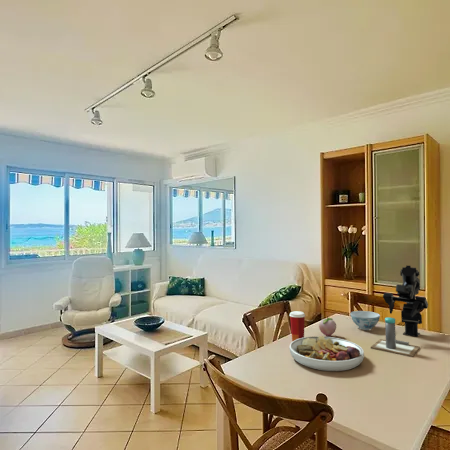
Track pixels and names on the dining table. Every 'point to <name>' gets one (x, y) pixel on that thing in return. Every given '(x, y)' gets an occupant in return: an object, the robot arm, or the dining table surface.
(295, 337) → the paper cup
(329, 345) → the bowl
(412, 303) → the robot arm
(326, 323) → the decorative fruit
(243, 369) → the dining table surface
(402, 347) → the clipboard
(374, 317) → the chinaware
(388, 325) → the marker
